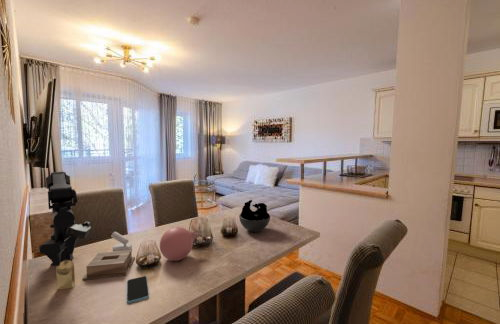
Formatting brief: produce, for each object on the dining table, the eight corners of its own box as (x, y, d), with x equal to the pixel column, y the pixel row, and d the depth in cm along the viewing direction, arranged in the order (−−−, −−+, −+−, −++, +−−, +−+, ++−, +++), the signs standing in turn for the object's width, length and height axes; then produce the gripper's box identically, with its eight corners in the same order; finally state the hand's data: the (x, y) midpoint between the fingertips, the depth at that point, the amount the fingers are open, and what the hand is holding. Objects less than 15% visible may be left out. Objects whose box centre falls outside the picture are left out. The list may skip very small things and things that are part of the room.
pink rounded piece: (206, 257, 112) (206, 227, 111) (165, 270, 100) (164, 237, 99) (194, 246, 125) (194, 218, 123) (156, 256, 113) (155, 226, 112)
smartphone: (146, 275, 96) (149, 296, 83) (146, 278, 96) (149, 298, 83) (127, 280, 93) (126, 302, 79) (127, 282, 93) (126, 305, 79)
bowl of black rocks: (271, 237, 138) (271, 207, 136) (238, 236, 138) (238, 206, 137) (268, 225, 158) (269, 198, 156) (239, 224, 158) (240, 198, 157)
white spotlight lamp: (118, 228, 123) (134, 230, 121) (119, 245, 124) (135, 247, 122) (105, 234, 115) (122, 236, 113) (106, 253, 116) (123, 255, 114)
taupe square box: (125, 275, 96) (125, 264, 96) (82, 280, 93) (81, 268, 92) (134, 258, 111) (134, 248, 110) (97, 261, 107) (97, 251, 107)
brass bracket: (72, 287, 88) (71, 261, 87) (57, 289, 87) (55, 263, 86) (75, 284, 90) (73, 259, 89) (60, 286, 89) (58, 260, 88)
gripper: (74, 227, 79) (76, 270, 80) (97, 211, 97) (98, 246, 98) (36, 229, 76) (39, 274, 78) (66, 212, 94) (68, 249, 96)
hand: (64, 259), depth 87 cm, fingers open, 9 cm apart
